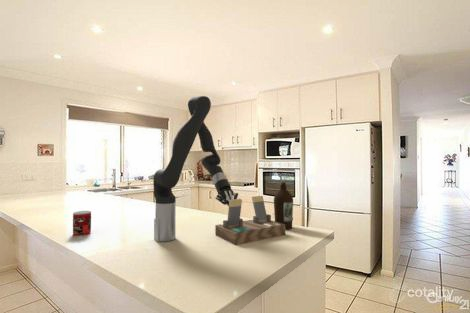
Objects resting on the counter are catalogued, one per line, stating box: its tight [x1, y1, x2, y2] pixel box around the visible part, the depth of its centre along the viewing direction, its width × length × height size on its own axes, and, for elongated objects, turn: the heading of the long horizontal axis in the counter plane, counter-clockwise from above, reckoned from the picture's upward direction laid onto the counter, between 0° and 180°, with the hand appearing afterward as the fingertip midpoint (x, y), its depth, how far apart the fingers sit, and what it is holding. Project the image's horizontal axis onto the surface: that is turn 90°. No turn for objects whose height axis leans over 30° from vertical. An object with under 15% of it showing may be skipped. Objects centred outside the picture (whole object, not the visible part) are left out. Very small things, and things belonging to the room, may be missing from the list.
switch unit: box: [214, 213, 286, 246], centre depth 131 cm, size 30×18×8 cm, turn 122°
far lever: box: [251, 195, 267, 222], centre depth 139 cm, size 6×2×13 cm, turn 122°
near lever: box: [227, 198, 243, 227], centre depth 127 cm, size 6×2×13 cm, turn 122°
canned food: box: [72, 210, 92, 237], centre depth 133 cm, size 8×8×11 cm
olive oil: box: [273, 181, 294, 231], centre depth 146 cm, size 11×11×25 cm
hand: (233, 210), depth 128 cm, fingers closed
